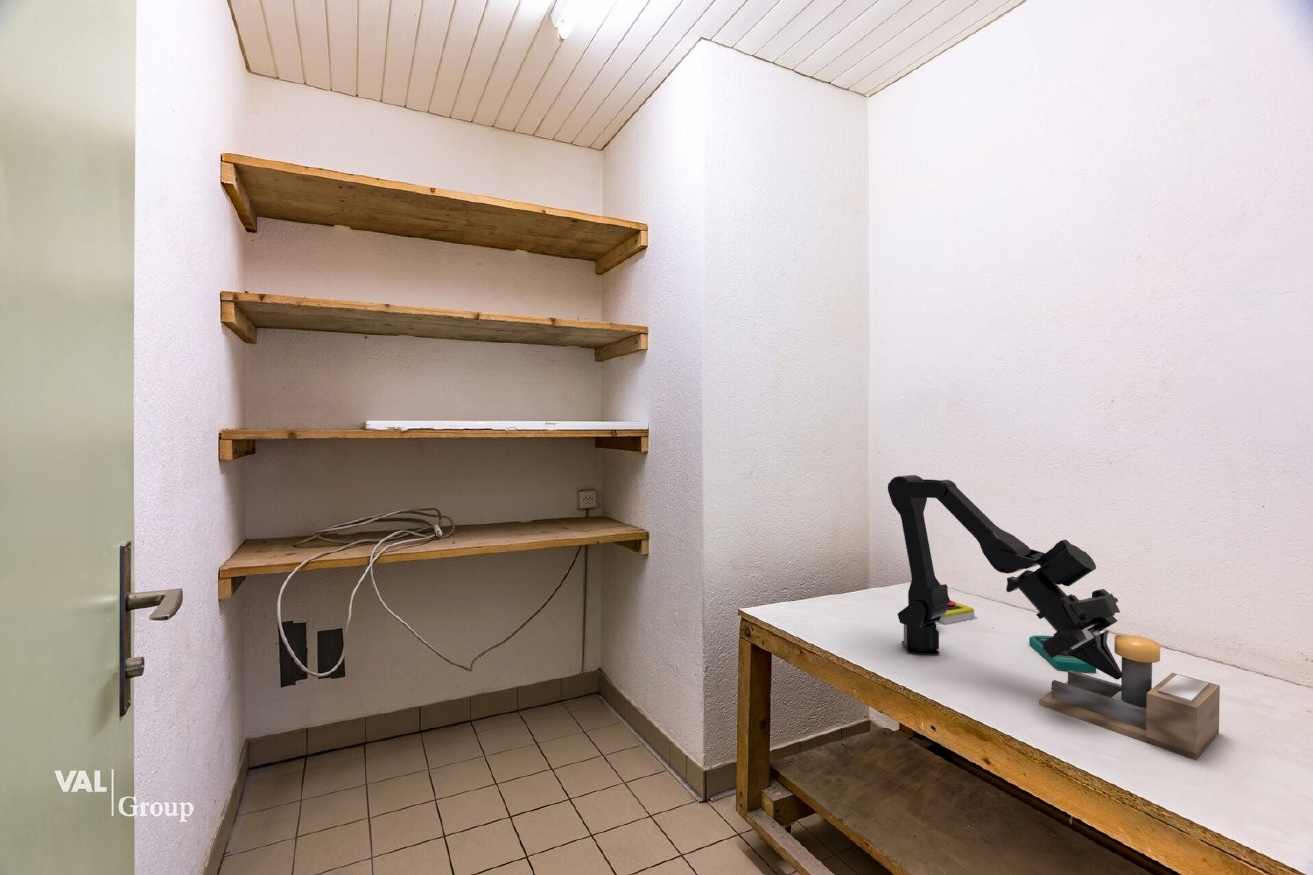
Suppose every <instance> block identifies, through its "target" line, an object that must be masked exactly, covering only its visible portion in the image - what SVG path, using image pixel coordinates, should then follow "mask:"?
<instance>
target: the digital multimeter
mask: <svg viewBox="0 0 1313 875" xmlns="http://www.w3.org/2000/svg"><path fill="white" fill-rule="evenodd" d="M1052 636H1053V635H1032V636H1029V639H1028V644H1029V646H1030V647H1031V648H1032V649H1034V650H1035V651H1036V652H1037V653H1039V655H1041V656H1042V657H1043V658H1044V659H1045V660H1046V661H1047V662H1048V663H1049V664H1051V666H1052V667H1053V668H1055V670H1057V671H1061V672H1062V671H1063V672H1068V671H1070V670H1072V671H1075V672H1079V673H1082V674H1096V673H1097V669H1096V668H1095V667H1093V666H1091V665H1089V664H1087V663H1085V662H1083V661H1081V660H1079V659H1077V658H1075V657H1073V656H1071V655H1070V656H1069V655H1067V653H1068V652H1070V651H1071V650H1073V649H1072V648H1069V649H1067V650H1066V651H1064V652H1062V653H1060V654H1059V655H1057V656H1055V657H1054V658H1052V659H1050V657H1049V656H1048V655H1047V654H1046V653H1045V652H1044V650H1043V642H1044V641H1046V640H1047V639H1049V638H1051V637H1052Z"/></svg>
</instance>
